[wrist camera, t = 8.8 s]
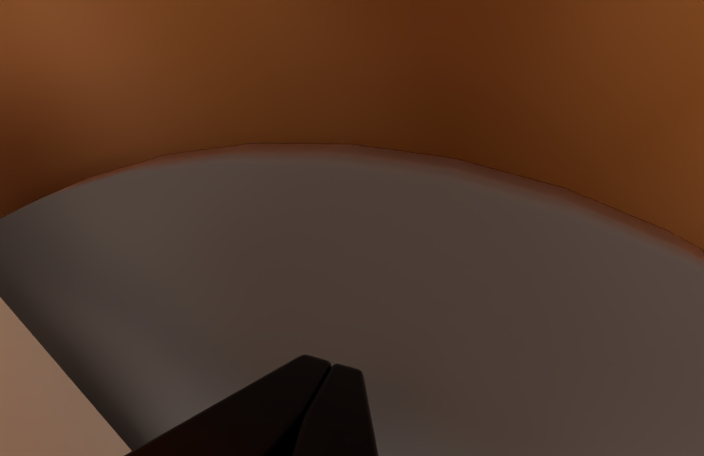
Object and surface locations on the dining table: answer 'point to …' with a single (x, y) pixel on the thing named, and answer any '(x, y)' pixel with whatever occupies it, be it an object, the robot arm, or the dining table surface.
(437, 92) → the dining table surface
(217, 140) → the dining table surface
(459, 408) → the round gray plate
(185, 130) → the dining table surface
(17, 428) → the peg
